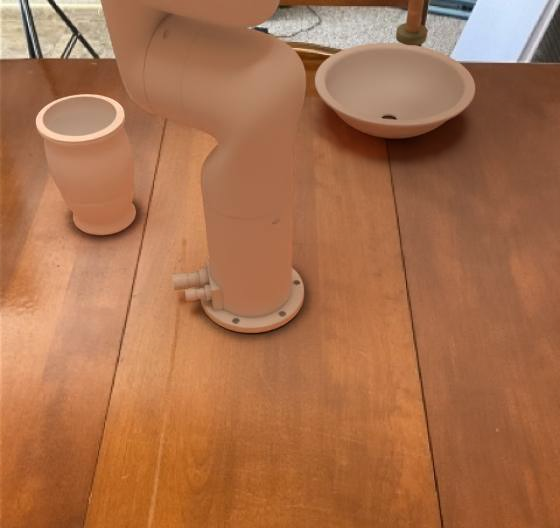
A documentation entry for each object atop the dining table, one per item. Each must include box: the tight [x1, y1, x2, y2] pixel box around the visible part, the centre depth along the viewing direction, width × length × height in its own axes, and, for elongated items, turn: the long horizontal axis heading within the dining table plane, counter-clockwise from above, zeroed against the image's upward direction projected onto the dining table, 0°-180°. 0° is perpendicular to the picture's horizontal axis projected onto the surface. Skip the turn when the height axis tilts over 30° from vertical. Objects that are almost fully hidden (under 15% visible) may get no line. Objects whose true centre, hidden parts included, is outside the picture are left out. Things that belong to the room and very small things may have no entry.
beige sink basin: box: [314, 42, 476, 139], centre depth 105 cm, size 24×24×7 cm
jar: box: [35, 93, 137, 236], centre depth 87 cm, size 11×10×15 cm
